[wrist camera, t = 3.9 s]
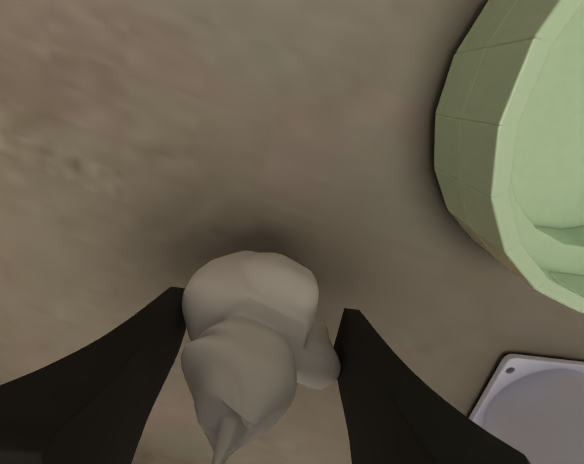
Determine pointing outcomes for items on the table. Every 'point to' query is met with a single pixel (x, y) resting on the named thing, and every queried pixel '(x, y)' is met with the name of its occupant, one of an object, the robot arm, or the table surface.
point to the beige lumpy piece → (252, 344)
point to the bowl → (519, 141)
